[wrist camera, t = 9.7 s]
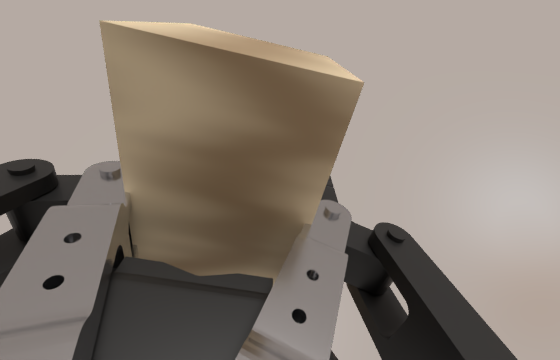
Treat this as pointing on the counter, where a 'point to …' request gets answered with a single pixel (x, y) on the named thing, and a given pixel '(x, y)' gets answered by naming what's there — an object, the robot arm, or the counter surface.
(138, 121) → the oak post
